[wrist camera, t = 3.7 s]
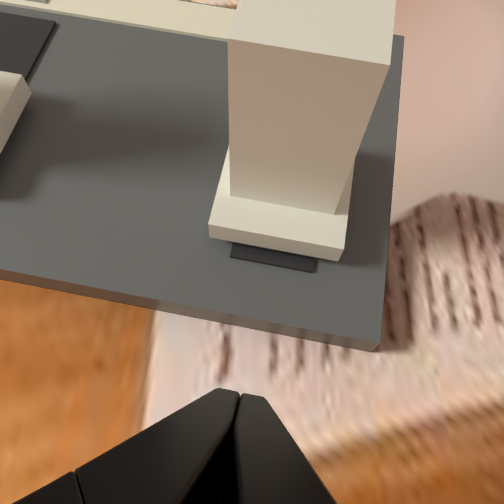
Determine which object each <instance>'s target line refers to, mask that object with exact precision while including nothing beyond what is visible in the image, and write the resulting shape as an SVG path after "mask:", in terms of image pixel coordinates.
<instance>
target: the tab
mask: <svg viewBox="0 0 504 504" xmlns="http://www.w3.org/2000/svg"><path fill="white" fill-rule="evenodd" d="M31 94H32V93H31V91H30V89H29V87H28V85H27V83H26V81H25V79H24V78H23V76H22V75H21V74H15V73H9V72H4V71H0V154H1V152H2V150H3V148H4V146H5V144H6V142H7V140H8V138H9V136H10V134H11V132H12V130H13V129H14V127H15V125H16V123H17V121H18V119H19V117H20V115H21V113H22V111H23V109H24V107H25V105H26V103H27V101H28V99H29V98H30V96H31Z"/></svg>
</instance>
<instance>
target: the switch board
mask: <svg viewBox="0 0 504 504" xmlns="http://www.w3.org/2000/svg"><path fill="white" fill-rule="evenodd" d="M235 12H236V9H233V8H226V7H220V6H214V5H208V4H202V3H196V2H189V1H183V0H0V71H4V72H9V73H15V74H21V75H22V76H23V78H24V79H25V81H26V83H27V85H28V87H29V89H30V91H31V93H32V94H31V96H30V98H29V99H28V101H27V103H26V105H25V107H24V109H23V111H22V113H21V115H20V117H19V119H18V121H17V123H16V125H15V127H14V129H13V130H12V132H11V134H10V136H9V138H8V140H7V142H6V144H5V146H4V148H3V150H2V152H1V154H0V279H2V280H7V281H12V282H17V283H22V284H27V285H33V286H38V287H43V288H48V289H53V290H58V291H63V292H68V293H73V294H78V295H83V296H88V297H93V298H99V299H104V300H109V301H114V302H119V303H124V304H129V305H134V306H139V307H144V308H149V309H154V310H160V311H165V312H170V313H175V314H180V315H185V316H190V317H195V318H200V319H205V320H210V321H215V322H221V323H226V324H231V325H236V326H241V327H246V328H251V329H256V330H261V331H266V332H271V333H276V334H281V335H287V336H292V337H297V338H302V339H307V340H312V341H317V342H322V343H327V344H332V345H337V346H342V347H348V348H353V349H358V350H363V351H368V352H372V351H373V350H374V349H375V348H376V347H377V346H378V345H379V344H380V342H381V329H382V316H383V303H384V291H385V278H386V265H387V252H388V239H389V226H390V213H391V201H392V187H393V175H394V162H395V149H396V137H397V124H398V111H399V98H400V85H401V72H402V60H403V47H404V46H403V45H404V36H399V35H393V40H392V51H391V62H390V67H389V70H388V72H387V75H386V78H385V80H384V83H383V85H382V88H381V91H380V93H379V96H378V99H377V101H376V104H375V107H374V109H373V112H372V115H371V117H370V120H369V122H368V125H367V128H366V130H365V133H364V136H363V138H362V141H361V144H360V146H359V149H358V152H357V154H356V157H355V163H354V171H353V179H352V187H351V196H350V204H349V212H348V220H347V228H346V237H345V245H344V250H343V252H342V254H341V257H340V259H339V261H333V260H327V259H322V258H317V257H311V256H306V255H301V254H295V253H290V252H285V251H279V250H274V249H269V248H263V247H258V246H253V245H247V244H242V243H237V242H231V241H226V240H221V239H215V238H210V237H209V229H208V222H209V218H210V215H211V211H212V207H213V203H214V199H215V196H216V192H217V188H218V184H219V181H220V177H221V173H222V169H223V165H224V162H225V158H226V154H227V150H228V147H229V104H228V44H227V38H228V35H229V31H230V28H231V25H232V21H233V18H234V15H235Z"/></svg>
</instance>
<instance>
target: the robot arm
mask: <svg viewBox="0 0 504 504" xmlns="http://www.w3.org/2000/svg"><path fill="white" fill-rule="evenodd" d="M12 504H337V502H336V501H335V499H334V498H333V496H332V495H331V494H330V492H329V491H328V489H327V488H326V486H325V485H324V483H323V482H322V480H321V479H320V477H319V476H318V475H317V473H316V472H315V470H314V469H313V467H312V466H311V464H310V463H309V461H308V460H307V458H306V457H305V456H304V454H303V453H302V451H301V450H300V448H299V447H298V445H297V444H296V442H295V441H294V439H293V438H292V437H291V435H290V434H289V432H288V431H287V429H286V428H285V426H284V425H283V423H282V422H281V420H280V419H279V418H278V416H277V415H276V413H275V412H274V410H273V409H272V407H271V406H270V404H269V403H268V401H267V400H266V399H265V398H264V397H261V396H256V395H251V394H246V393H244V394H242V395H241V396H240V394H239V393H238V392H236V391H231V390H226V389H222V388H217V389H214V390H213V391H211V392H209V393H207V394H206V395H204V396H202V397H200V398H199V399H197V400H195V401H194V402H192V403H190V404H188V405H187V406H185V407H183V408H181V409H180V410H178V411H176V412H174V413H173V414H171V415H169V416H167V417H166V418H164V419H162V420H161V421H159V422H157V423H155V424H154V425H152V426H150V427H148V428H147V429H145V430H143V431H141V432H140V433H138V434H136V435H135V436H133V437H131V438H129V439H128V440H126V441H124V442H122V443H121V444H119V445H117V446H115V447H114V448H112V449H110V450H108V451H107V452H105V453H103V454H102V455H100V456H98V457H96V458H95V459H93V460H91V461H89V462H88V463H86V464H84V465H82V466H81V467H79V468H77V469H76V470H75V471H74V472H68V473H67V474H65V475H63V476H61V477H60V478H58V479H56V480H54V481H53V482H51V483H49V484H47V485H46V486H44V487H42V488H40V489H38V490H36V491H35V492H33V493H31V494H29V495H27V496H25V497H23V498H22V499H20V500H18V501H16V502H14V503H12Z"/></svg>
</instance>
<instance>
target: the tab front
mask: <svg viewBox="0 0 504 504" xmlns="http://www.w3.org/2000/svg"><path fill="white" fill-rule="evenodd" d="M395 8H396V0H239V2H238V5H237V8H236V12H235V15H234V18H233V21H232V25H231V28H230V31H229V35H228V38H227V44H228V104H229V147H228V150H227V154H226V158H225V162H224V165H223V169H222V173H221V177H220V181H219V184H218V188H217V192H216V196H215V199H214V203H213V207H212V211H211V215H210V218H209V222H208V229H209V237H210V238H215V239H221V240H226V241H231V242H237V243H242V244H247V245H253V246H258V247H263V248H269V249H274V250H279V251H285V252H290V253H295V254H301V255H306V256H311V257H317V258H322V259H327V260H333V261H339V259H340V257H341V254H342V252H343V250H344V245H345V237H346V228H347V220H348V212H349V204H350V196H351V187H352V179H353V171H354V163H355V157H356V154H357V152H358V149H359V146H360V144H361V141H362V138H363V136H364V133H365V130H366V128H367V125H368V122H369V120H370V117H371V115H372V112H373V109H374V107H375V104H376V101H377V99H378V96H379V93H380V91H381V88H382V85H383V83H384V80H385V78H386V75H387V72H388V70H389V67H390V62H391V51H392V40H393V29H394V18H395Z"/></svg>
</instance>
